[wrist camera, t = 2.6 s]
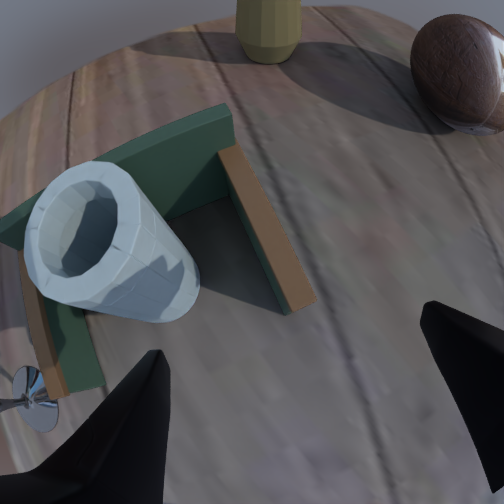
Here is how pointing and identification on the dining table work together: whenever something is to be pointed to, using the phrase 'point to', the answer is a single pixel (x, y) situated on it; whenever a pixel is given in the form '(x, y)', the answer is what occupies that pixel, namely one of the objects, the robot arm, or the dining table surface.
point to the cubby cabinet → (168, 206)
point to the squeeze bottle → (268, 28)
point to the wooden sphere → (461, 73)
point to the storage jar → (108, 248)
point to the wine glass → (32, 400)
